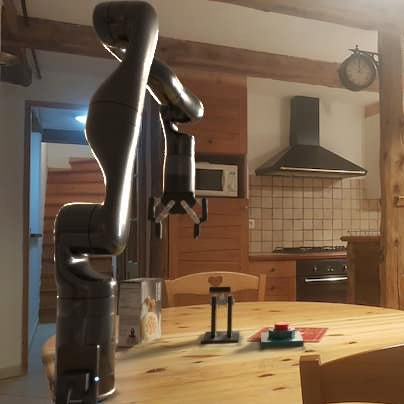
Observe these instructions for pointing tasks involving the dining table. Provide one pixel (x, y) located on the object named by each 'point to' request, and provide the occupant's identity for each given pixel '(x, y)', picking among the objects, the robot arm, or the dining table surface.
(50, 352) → the dining table surface
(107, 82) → the robot arm
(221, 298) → the lever
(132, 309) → the coffee box
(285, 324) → the stop button
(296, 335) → the button housing
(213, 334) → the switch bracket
